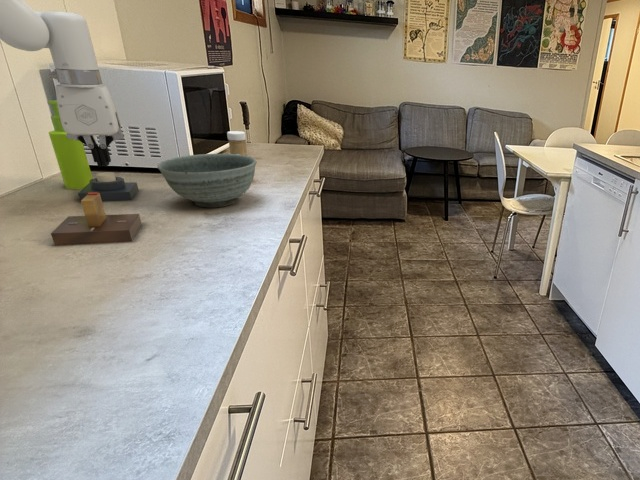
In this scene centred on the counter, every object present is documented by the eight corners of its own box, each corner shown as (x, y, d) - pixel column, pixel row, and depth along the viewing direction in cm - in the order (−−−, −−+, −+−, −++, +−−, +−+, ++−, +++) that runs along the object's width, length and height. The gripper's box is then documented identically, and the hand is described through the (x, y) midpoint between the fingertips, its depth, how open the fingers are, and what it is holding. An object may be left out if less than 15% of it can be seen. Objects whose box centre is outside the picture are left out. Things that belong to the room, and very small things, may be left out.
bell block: (80, 202, 107) (75, 185, 105) (91, 192, 115) (86, 175, 113) (131, 201, 111) (127, 184, 109) (138, 191, 118) (135, 175, 116)
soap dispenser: (99, 188, 118) (76, 102, 109) (65, 190, 114) (37, 101, 105) (99, 182, 122) (76, 99, 113) (66, 184, 118) (39, 98, 109)
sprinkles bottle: (235, 184, 130) (228, 133, 123) (232, 180, 133) (225, 130, 127) (252, 183, 132) (246, 133, 126) (249, 179, 135) (243, 130, 129)
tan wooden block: (99, 226, 88) (92, 199, 86) (88, 227, 88) (80, 199, 85) (106, 218, 92) (99, 191, 90) (95, 218, 92) (88, 192, 89)
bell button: (96, 183, 109) (94, 175, 108) (100, 179, 112) (98, 172, 111) (114, 183, 110) (112, 175, 109) (117, 179, 113) (115, 172, 112)
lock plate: (55, 246, 85) (50, 232, 84) (71, 228, 93) (67, 215, 92) (132, 242, 89) (128, 229, 88) (141, 225, 97) (138, 212, 96)
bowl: (261, 213, 109) (256, 170, 104) (158, 217, 102) (148, 171, 97) (261, 190, 126) (256, 152, 121) (172, 192, 119) (164, 151, 115)
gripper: (30, 78, 95) (59, 169, 104) (117, 81, 100) (138, 168, 109) (43, 75, 101) (70, 162, 110) (124, 79, 106) (143, 161, 115)
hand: (103, 165), depth 109 cm, fingers closed
